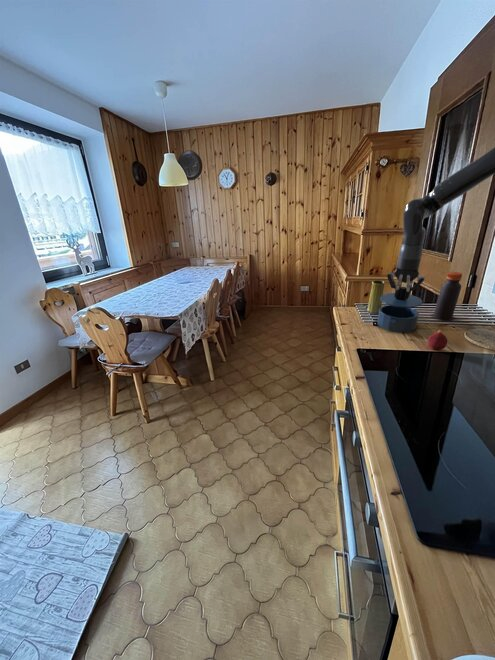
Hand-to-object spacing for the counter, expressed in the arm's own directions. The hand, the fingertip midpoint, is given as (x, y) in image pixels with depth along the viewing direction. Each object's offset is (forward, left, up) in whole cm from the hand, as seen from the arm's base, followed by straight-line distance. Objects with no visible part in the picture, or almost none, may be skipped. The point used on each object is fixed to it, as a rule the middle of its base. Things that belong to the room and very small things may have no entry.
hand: (401, 298), depth 115 cm
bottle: (-15, -17, -12) cm, 26 cm away
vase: (+12, -11, -12) cm, 20 cm away
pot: (0, 0, -12) cm, 12 cm away
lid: (0, 0, -1) cm, 1 cm away
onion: (-16, +14, -12) cm, 25 cm away
